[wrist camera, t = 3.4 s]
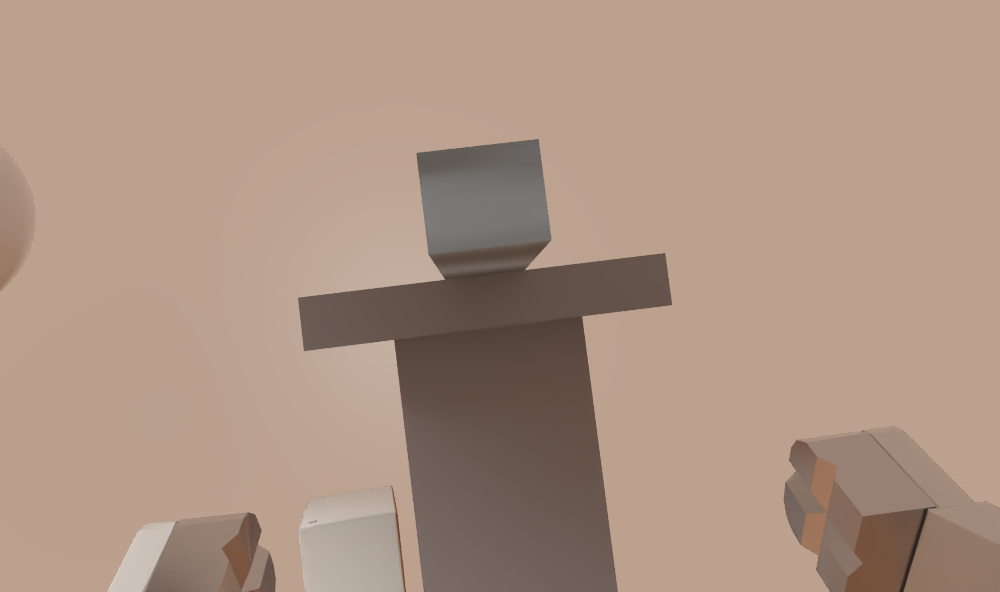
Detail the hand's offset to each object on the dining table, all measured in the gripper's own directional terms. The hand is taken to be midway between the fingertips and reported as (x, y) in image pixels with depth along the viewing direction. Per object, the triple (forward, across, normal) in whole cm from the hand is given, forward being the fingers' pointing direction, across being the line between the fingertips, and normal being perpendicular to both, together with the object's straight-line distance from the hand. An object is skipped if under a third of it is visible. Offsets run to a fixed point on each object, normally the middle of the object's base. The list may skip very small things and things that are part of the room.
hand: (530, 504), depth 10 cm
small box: (+21, +11, +37) cm, 44 cm away
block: (+17, 0, +4) cm, 17 cm away
